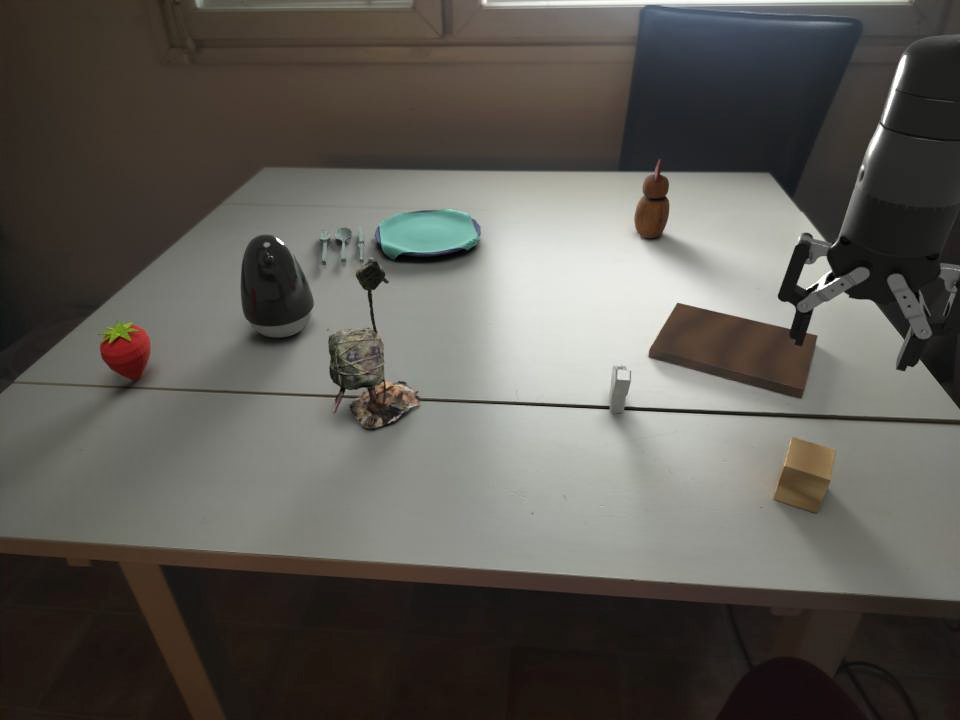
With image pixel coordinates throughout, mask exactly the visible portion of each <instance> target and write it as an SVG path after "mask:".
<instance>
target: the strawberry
mask: <svg viewBox="0 0 960 720" xmlns="http://www.w3.org/2000/svg"><path fill="white" fill-rule="evenodd" d="M134 323H135V321H130V322H128V323H125V324H123V323H122V322H121V317H119V318H118V319H117V321H116V322H115V325H114V326H111V327H105V329H106V331H103V332H99V333H98V334H97V335H98V336H104V337H103V338H102V340H101V341H99V343H100V345H99V351H100V357H101V359H102V361H103V362H104V363H105V365H107V366H108V368H109V370H111V371H113V372H115V373H116V374H118V375H120V377H123V378H126V379H129V380H131V381H133V382H138V381H139V380H141V378H142V377H143V373H144V372H145V369H146V367H147V365H148V362H149V360H150V356H151V338H150V336H149V335H148V333H147V331H146V330H145V329H144V328H143V327H140V326H138V325H135V324H134Z"/></svg>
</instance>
